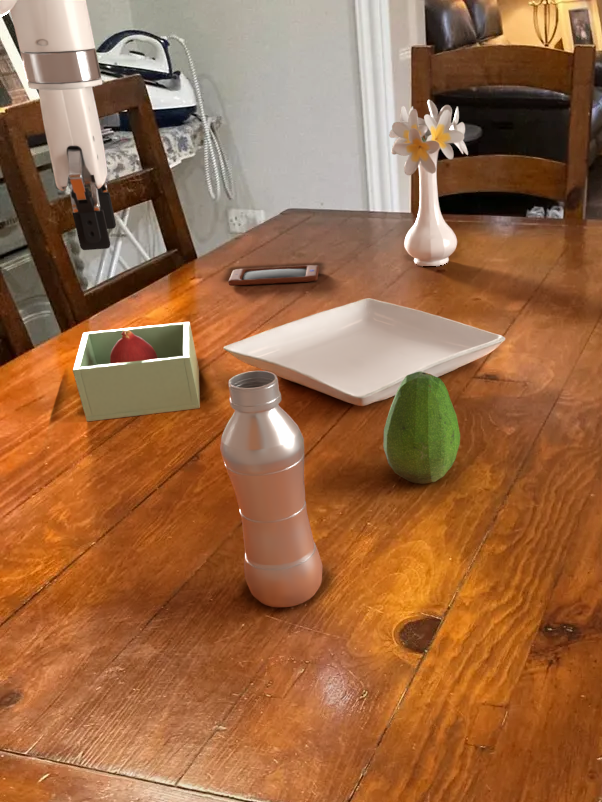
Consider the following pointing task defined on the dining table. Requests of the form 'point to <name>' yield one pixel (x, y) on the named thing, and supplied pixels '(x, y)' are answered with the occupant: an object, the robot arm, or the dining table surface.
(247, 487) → the plastic bottle
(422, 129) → the flower vase
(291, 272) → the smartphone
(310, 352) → the square plate
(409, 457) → the avocado
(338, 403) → the dining table surface
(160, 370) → the veg bin
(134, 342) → the onion
